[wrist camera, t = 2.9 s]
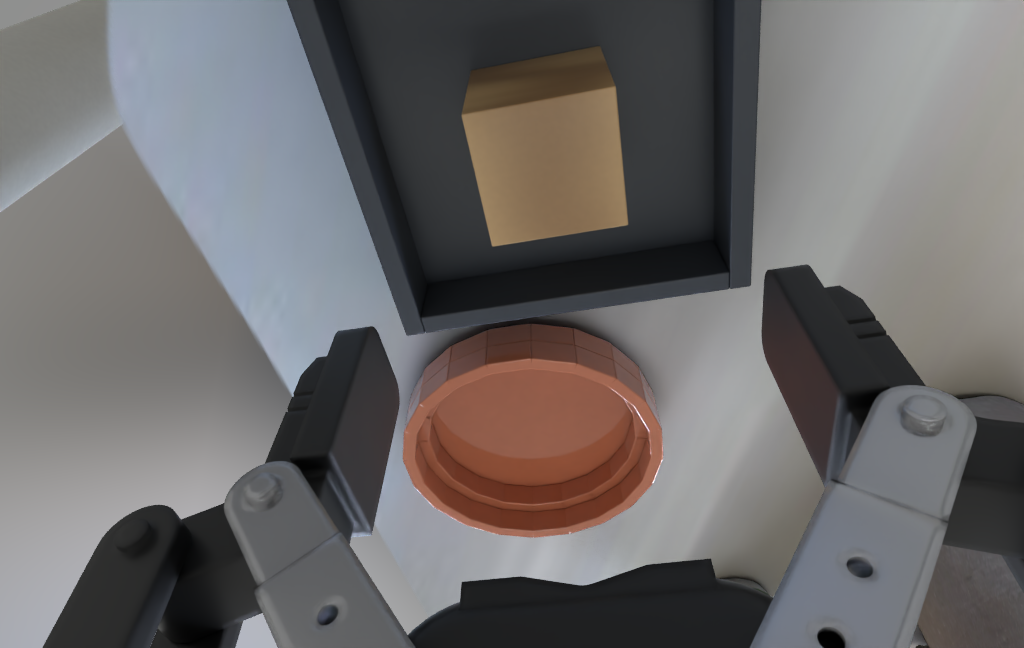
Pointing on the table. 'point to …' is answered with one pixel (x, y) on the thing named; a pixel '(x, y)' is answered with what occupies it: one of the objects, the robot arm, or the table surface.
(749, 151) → the tray
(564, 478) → the plate
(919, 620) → the pillar candle
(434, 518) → the table surface
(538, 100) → the block
